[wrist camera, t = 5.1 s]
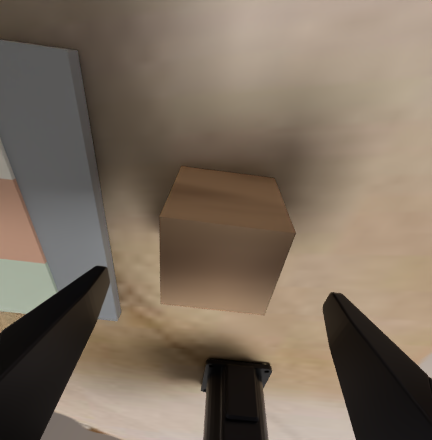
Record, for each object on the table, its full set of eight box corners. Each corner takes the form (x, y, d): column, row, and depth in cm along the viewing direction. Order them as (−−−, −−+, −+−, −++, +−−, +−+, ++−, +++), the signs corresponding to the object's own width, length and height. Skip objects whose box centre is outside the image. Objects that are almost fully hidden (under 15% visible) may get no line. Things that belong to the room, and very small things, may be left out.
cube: (254, 247, 16) (264, 315, 12) (178, 238, 16) (160, 303, 11) (274, 177, 13) (295, 233, 9) (181, 165, 13) (159, 216, 9)
